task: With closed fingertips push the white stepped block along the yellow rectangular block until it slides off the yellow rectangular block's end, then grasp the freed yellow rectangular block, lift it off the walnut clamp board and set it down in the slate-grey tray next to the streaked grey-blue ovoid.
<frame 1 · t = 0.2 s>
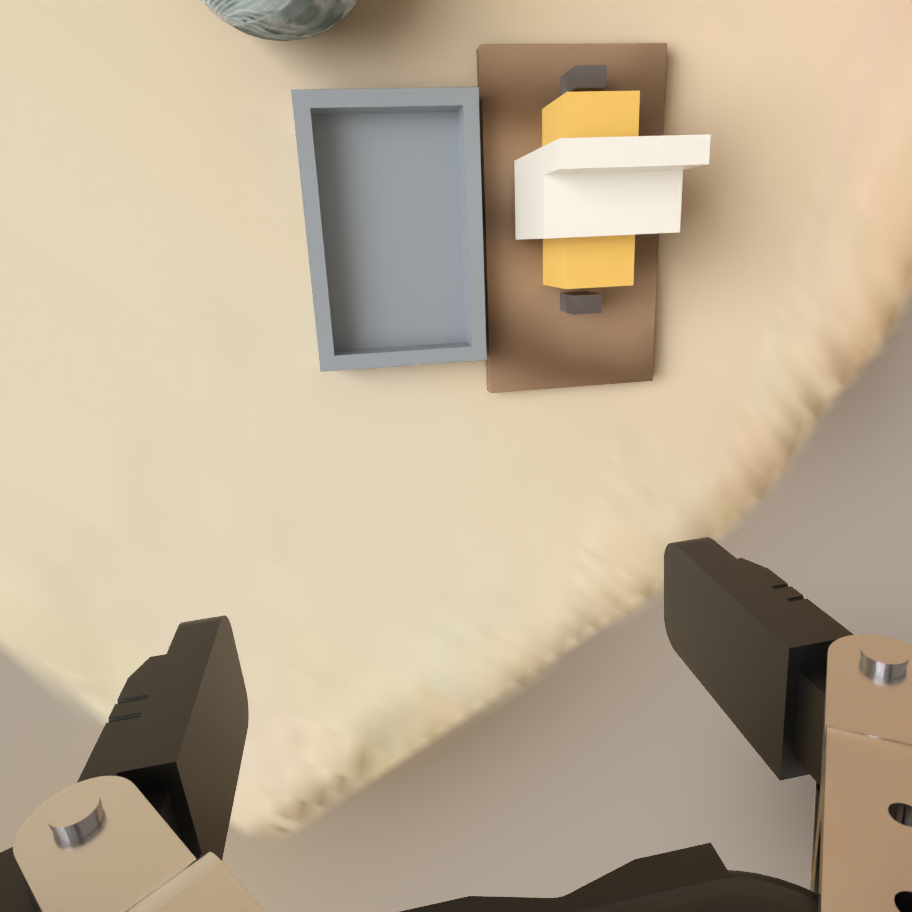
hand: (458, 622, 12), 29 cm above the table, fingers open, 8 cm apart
clamp board: (568, 228, 39), on the table
yellow rectangular block: (574, 198, 37), point 1 cm above the table, touching clamp board
white stepped block: (601, 193, 33), point 5 cm above the table, slide at 0.0 cm
tray: (393, 235, 37), on the table
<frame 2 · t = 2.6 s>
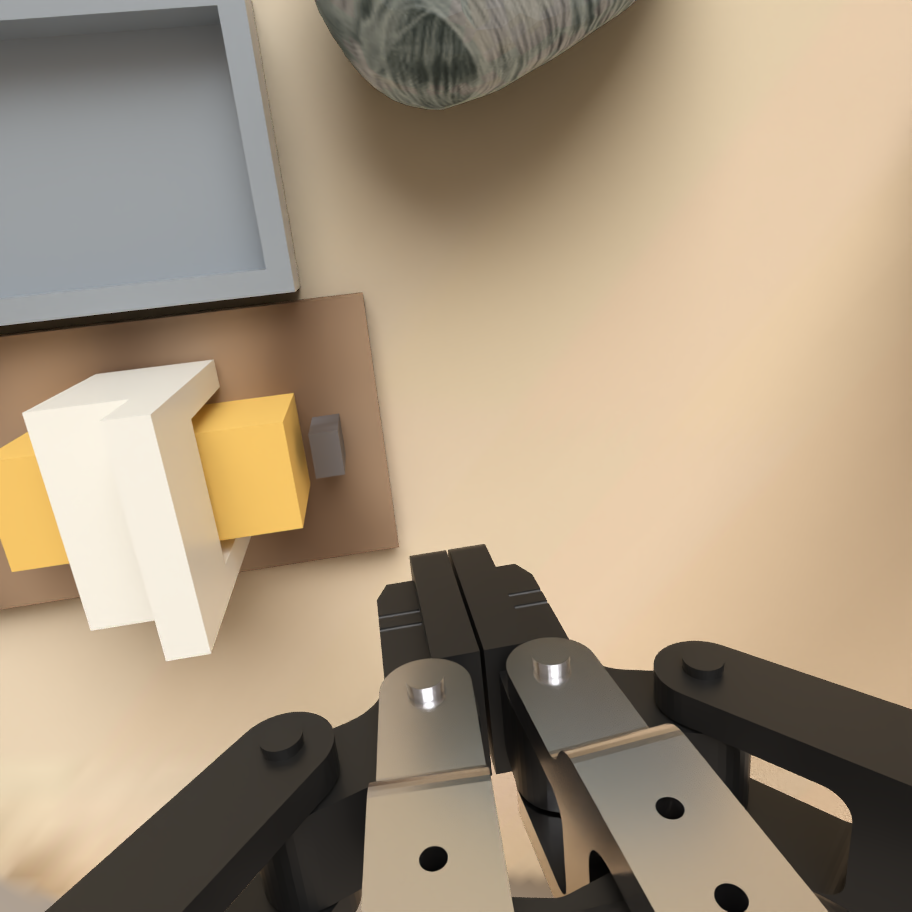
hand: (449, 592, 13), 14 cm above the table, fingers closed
clamp board: (144, 454, 26), on the table
yellow rectangular block: (179, 456, 25), point 1 cm above the table, touching clamp board
white stepped block: (146, 497, 21), point 5 cm above the table, slide at 0.0 cm
tray: (70, 171, 23), on the table
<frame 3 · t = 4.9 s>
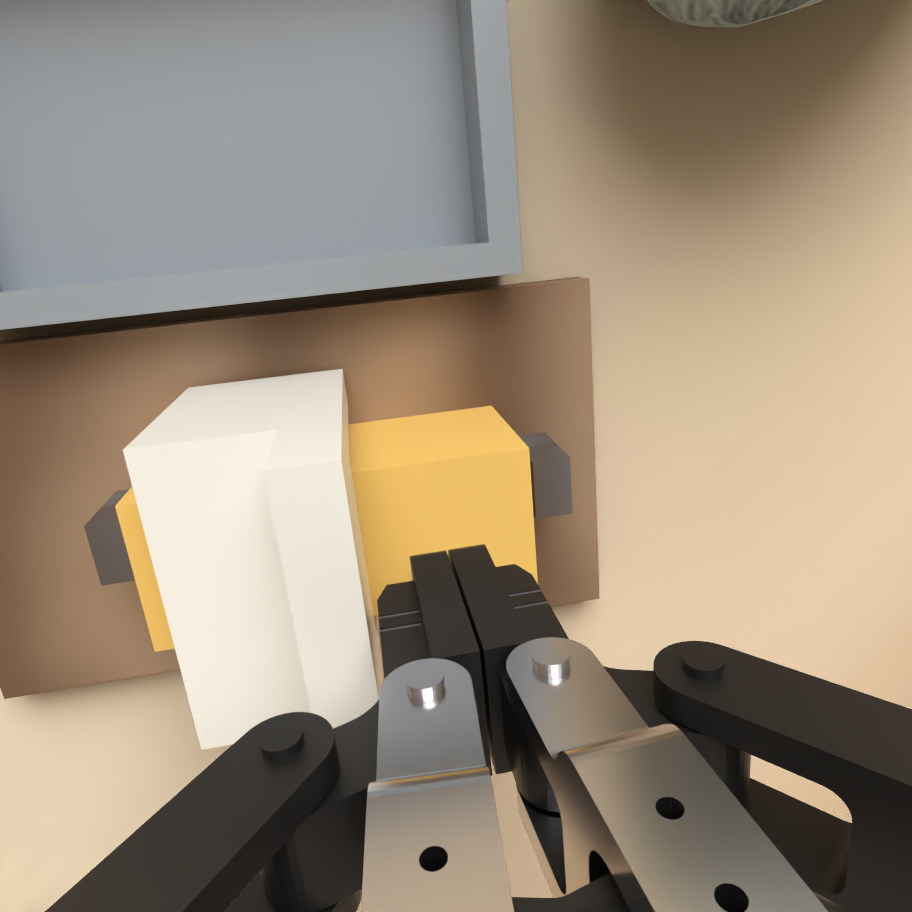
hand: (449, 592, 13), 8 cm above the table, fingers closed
clamp board: (291, 482, 20), on the table
yellow rectangular block: (342, 487, 19), point 1 cm above the table, touching clamp board
white stepped block: (274, 560, 15), point 5 cm above the table, slide at 1.5 cm, touching gripper
tray: (223, 110, 17), on the table
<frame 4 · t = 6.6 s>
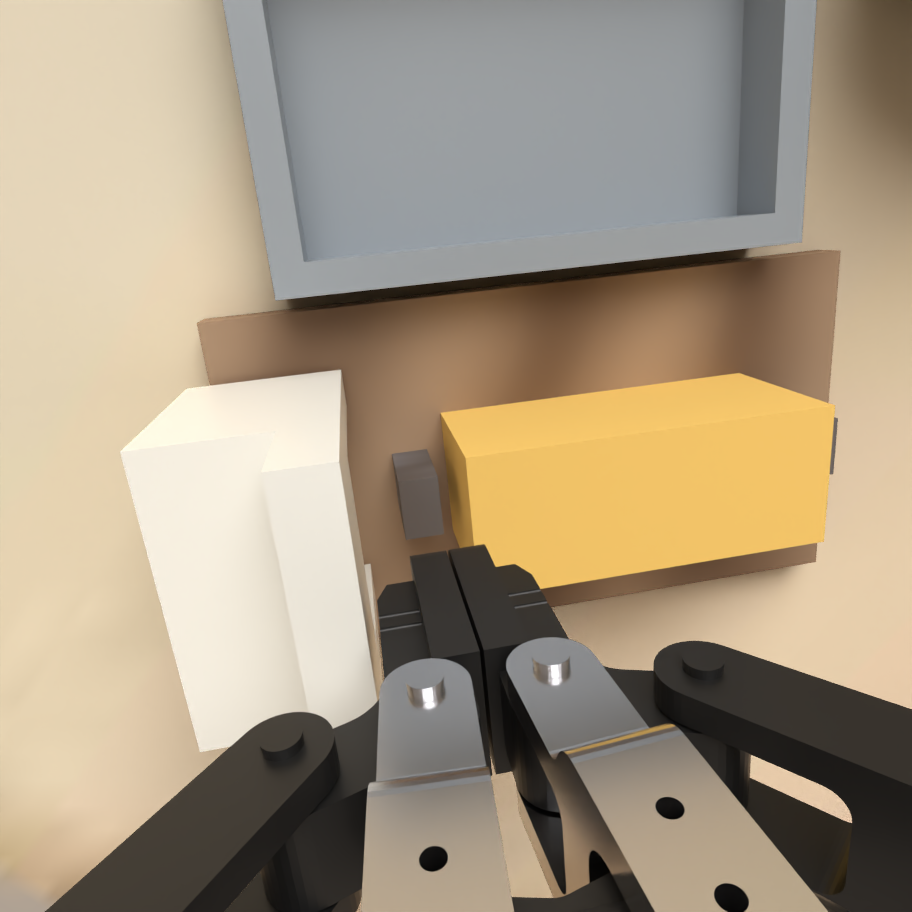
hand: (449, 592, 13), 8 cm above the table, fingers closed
clamp board: (537, 448, 21), on the table
yellow rectangular block: (595, 451, 20), point 1 cm above the table, touching clamp board
white stepped block: (273, 562, 15), point 5 cm above the table, slide at 9.1 cm, touching gripper
tray: (515, 87, 18), on the table
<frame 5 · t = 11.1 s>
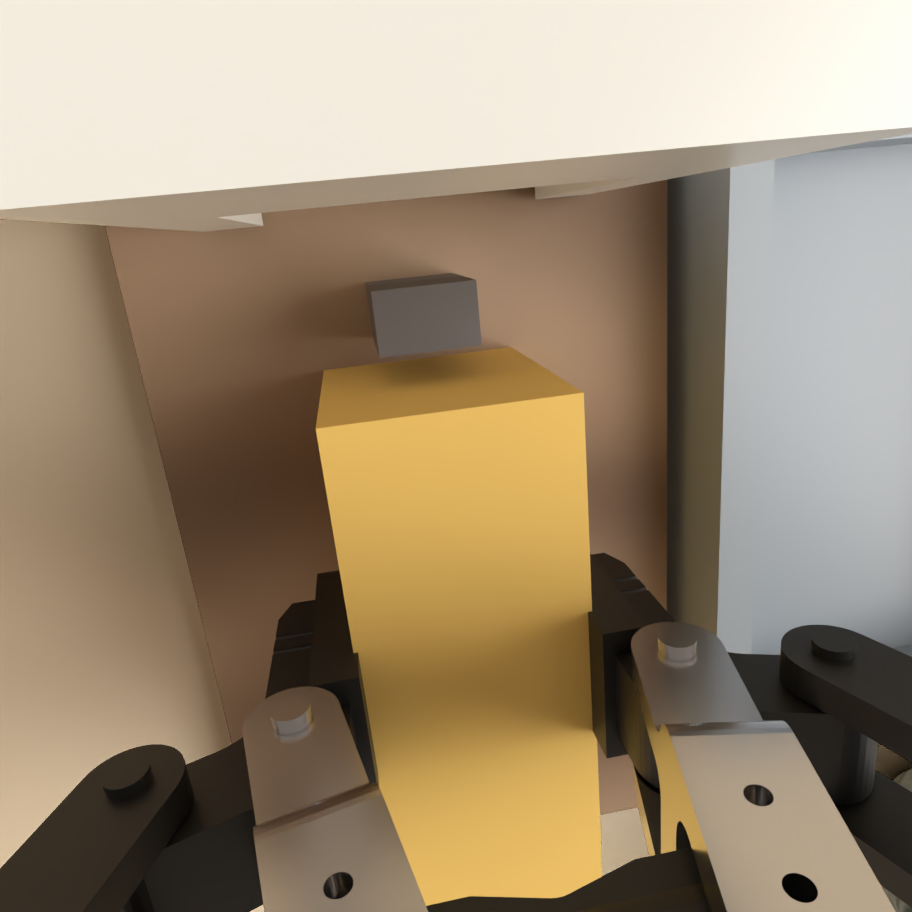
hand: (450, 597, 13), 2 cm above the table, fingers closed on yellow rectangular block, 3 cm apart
clamp board: (429, 487, 15), on the table
yellow rectangular block: (443, 569, 14), point 1 cm above the table, touching clamp board, gripper
white stepped block: (411, 7, 8), point 5 cm above the table, slide at 9.1 cm
tray: (848, 425, 16), on the table
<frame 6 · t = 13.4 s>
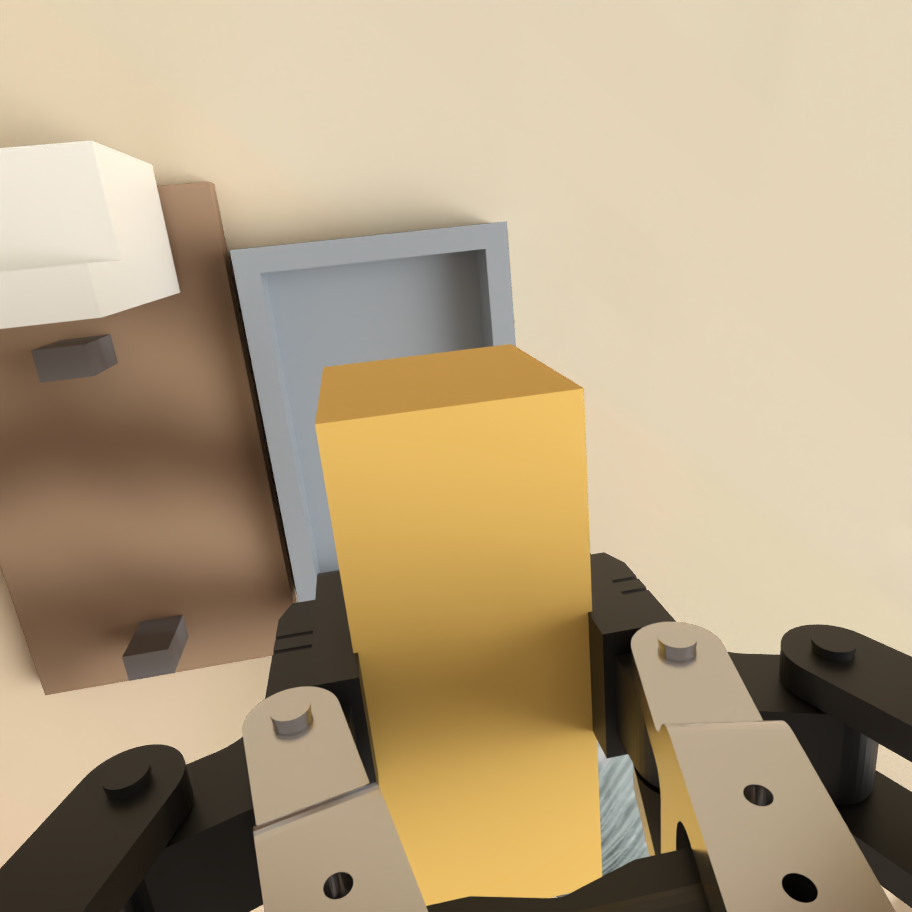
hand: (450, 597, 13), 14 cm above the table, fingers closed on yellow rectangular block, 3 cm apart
clamp board: (127, 453, 25), on the table
yellow rectangular block: (443, 566, 14), point 13 cm above the table, touching gripper
streaked grey-blue ovoid: (557, 701, 32), on the table
tray: (392, 417, 27), on the table
when the fingers open (3 cm above the table, at t = 15.7 s): yellow rectangular block stays where it is, resting on tray.
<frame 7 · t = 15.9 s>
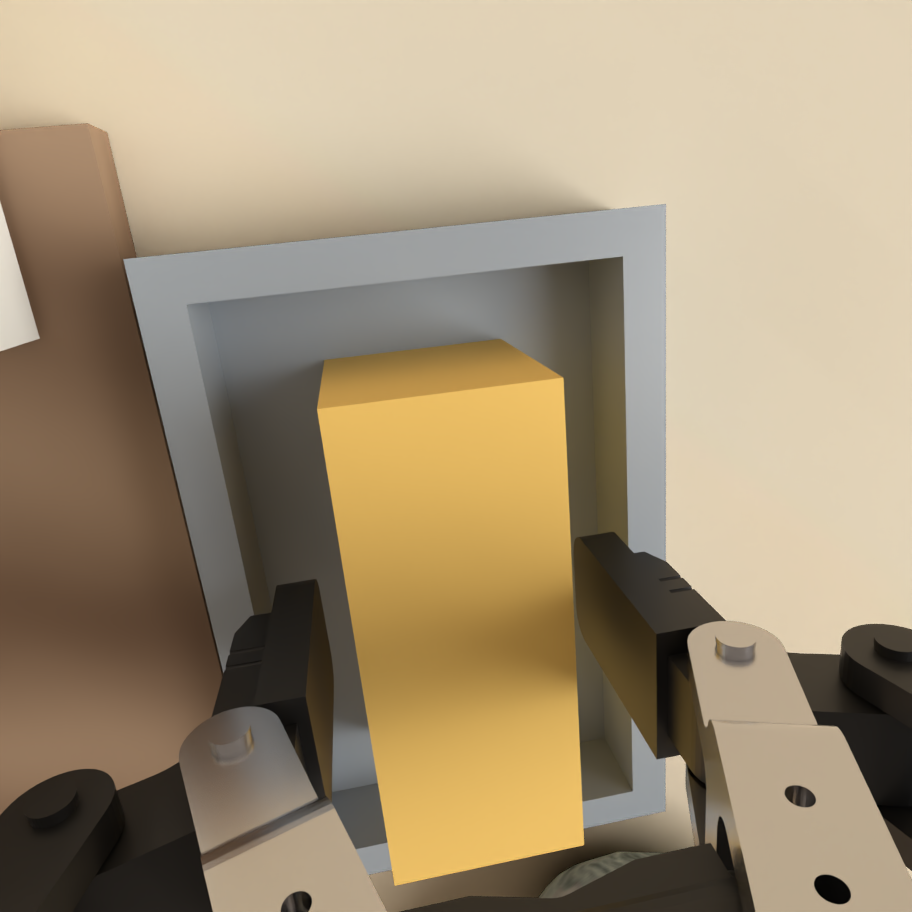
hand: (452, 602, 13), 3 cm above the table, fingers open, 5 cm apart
yellow rectangular block: (436, 549, 15), point 1 cm above the table, touching tray
tray: (433, 539, 16), on the table
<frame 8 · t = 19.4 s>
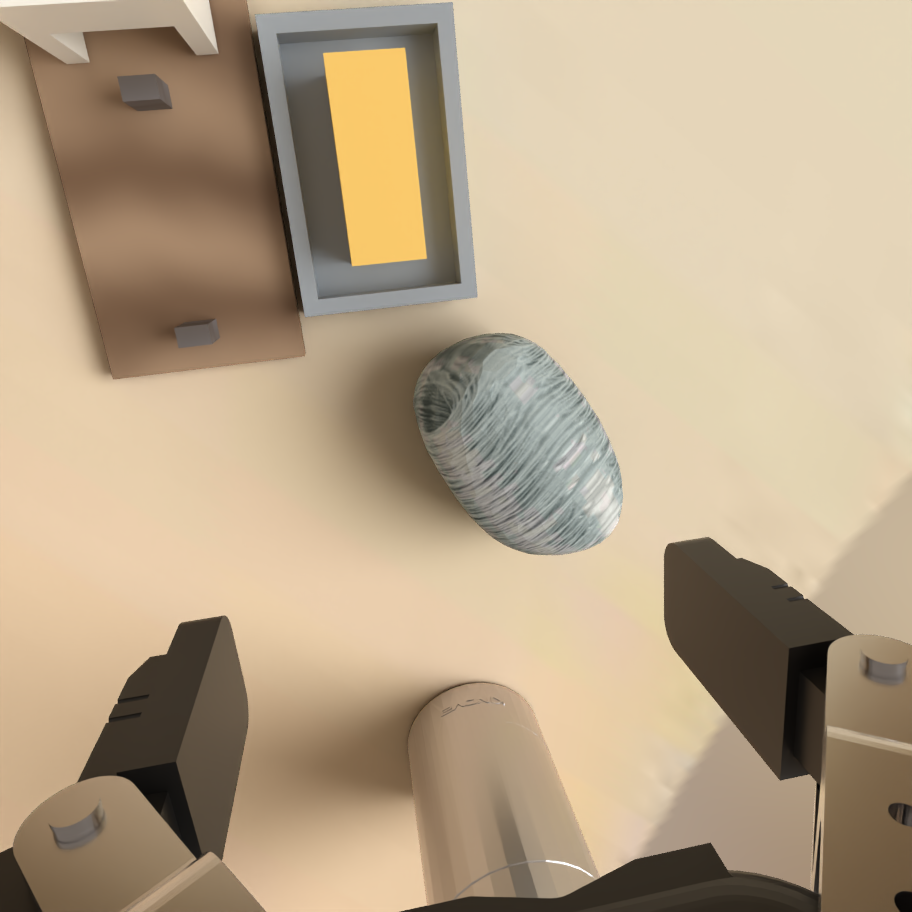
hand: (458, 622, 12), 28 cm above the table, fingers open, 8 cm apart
clamp board: (176, 189, 35), on the table
yellow rectangular block: (373, 170, 35), point 1 cm above the table, touching tray
streaked grey-blue ovoid: (504, 428, 41), on the table
tray: (373, 171, 36), on the table
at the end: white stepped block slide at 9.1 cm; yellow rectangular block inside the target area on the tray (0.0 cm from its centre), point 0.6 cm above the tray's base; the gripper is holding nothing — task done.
